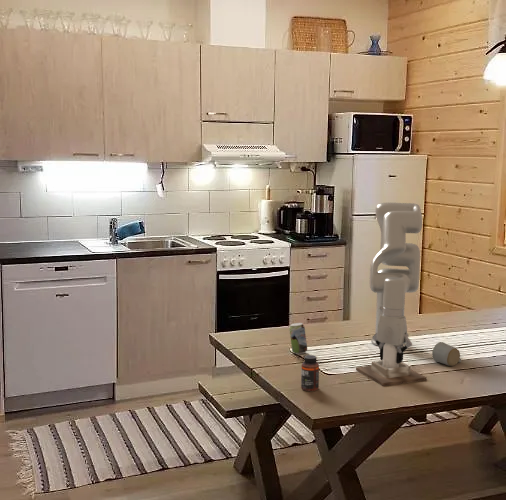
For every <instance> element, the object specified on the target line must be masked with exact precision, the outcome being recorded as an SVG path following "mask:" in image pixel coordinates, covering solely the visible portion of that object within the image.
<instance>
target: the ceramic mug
mask: <svg viewBox="0 0 506 500" xmlns="http://www.w3.org/2000/svg"><path fill="white" fill-rule="evenodd" d="M431 352H432V353H431V354H432V356H431V357H432V359H433V360H434V361H435V362H437V363H440V364H442V365H445V366H449V367H454V366H456V365H457V364H458V363H461V362H462V361H463V360H462V359H463V358H461V352H460V350H459V349H458V348H457V347H455V346H452V345H450V344H447V343H445V342H444V341H440V342H437V343H436V344H435V345H434V347H433V349H432V351H431Z"/></svg>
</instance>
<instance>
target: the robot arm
mask: <svg viewBox="0 0 506 500" xmlns="http://www.w3.org/2000/svg"><path fill="white" fill-rule="evenodd" d="M375 217H376V221H377V224H378V225H379V226H378V227H379V229H380V246H379V248H380V250H379V251H378V252H377V253H376V254H375V255H374V256H373V258H372V260H371V263H370V267H369V288H370V291H372V293H376V312H375V331H374V333H375V334H373V335H372V338H371V339H370V341H371V342H370V343H372V344H373V345H375V346H377V347H378V349H379V357H380V360H383V346H384V344H385V343H386V344H391V345H396V346H397V348H398V353H397V360H396V363H397V364H399V363H401V362H403V360H404V352H406V350H407V349H409V348H411V346H413V343H412V341H411V339H410V338H409V333H408V326H407V325H408V324H407V317H406V316H405V301H406V300H405V299H406V293H415V292H418V289H419V286H420V285H419V284H420V271H421V269H420V266H421V250H420V247H419V245H417V244H416V243H413V242H412V243H410V242H409V243H408V242H406V239H407V238H406V234H419V233H421V231H422V228H423V215H422V210H421V206H420V204H418V203H413V202H412V203H411V202H408V203H407V202H381V203H378V204H377V205H376V207H375ZM380 264H382V265H385V266H388V268H387V267H386V268H381V269H379V270H378V268H379V266H380ZM389 266H391V267H407V268H408V269H407V268H389ZM404 344H405V345H404Z"/></svg>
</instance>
